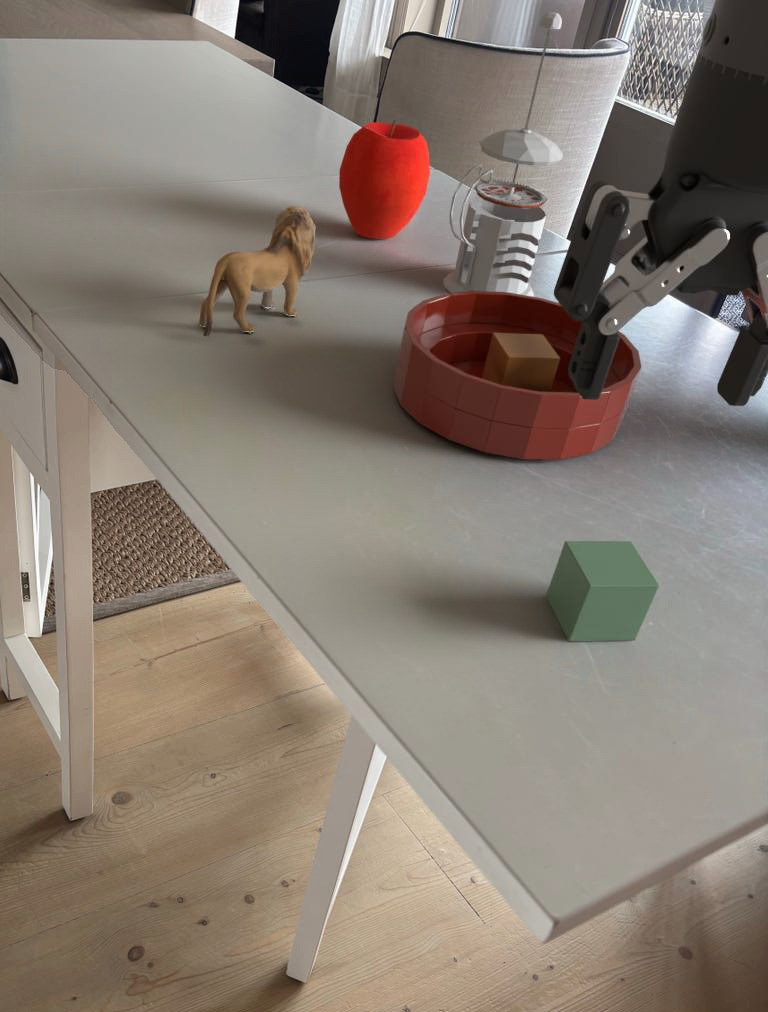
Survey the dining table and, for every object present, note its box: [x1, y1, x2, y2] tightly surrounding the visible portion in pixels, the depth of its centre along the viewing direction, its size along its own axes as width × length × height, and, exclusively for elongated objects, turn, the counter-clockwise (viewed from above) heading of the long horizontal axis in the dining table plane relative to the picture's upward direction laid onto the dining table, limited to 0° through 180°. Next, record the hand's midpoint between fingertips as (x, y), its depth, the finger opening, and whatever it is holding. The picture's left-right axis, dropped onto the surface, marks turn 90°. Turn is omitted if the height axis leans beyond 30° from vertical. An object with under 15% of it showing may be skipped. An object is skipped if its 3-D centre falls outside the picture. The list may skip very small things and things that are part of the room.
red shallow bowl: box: [393, 291, 642, 461], centre depth 81 cm, size 19×19×6 cm
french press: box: [442, 11, 564, 297], centre depth 94 cm, size 10×12×25 cm
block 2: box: [545, 540, 660, 642], centre depth 61 cm, size 4×4×4 cm
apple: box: [338, 120, 431, 240], centre depth 107 cm, size 10×10×12 cm
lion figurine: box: [198, 206, 317, 337], centre depth 89 cm, size 15×5×9 cm, turn 145°
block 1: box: [482, 333, 560, 392], centre depth 83 cm, size 4×4×4 cm
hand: (658, 396), depth 53 cm, fingers open, 8 cm apart
